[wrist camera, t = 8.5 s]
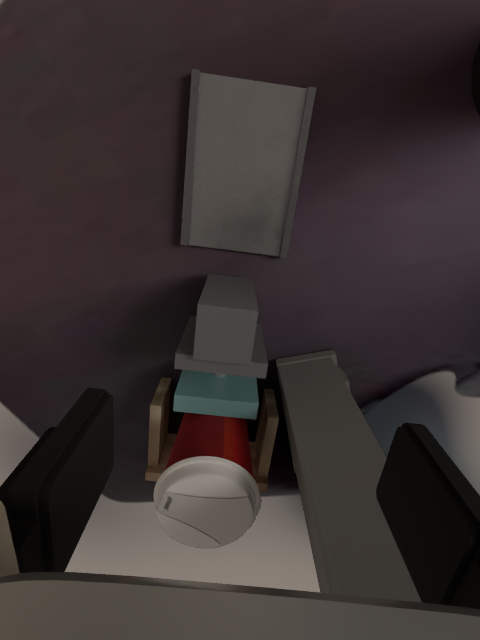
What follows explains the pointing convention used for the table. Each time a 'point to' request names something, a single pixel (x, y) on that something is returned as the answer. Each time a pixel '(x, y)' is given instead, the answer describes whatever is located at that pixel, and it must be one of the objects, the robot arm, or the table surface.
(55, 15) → the table surface
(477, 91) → the handle grip
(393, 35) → the table surface
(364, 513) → the cassette tape recorder
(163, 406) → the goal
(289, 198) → the track
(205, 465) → the paper cup
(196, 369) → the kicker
